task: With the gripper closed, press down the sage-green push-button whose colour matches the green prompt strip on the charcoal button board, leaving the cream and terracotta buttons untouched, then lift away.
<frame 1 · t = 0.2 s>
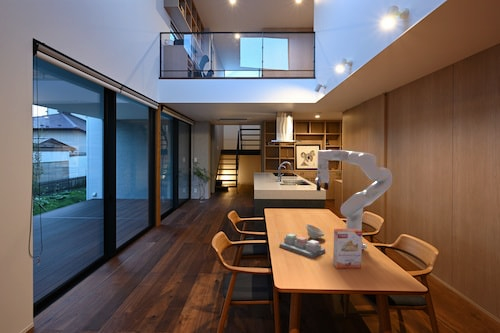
hand: (322, 190, 189), 37 cm above the table, tool pointing down, fingers open, 9 cm apart
green button: (291, 237, 176), point 6 cm above the table, slide at 0.0 cm
cracker box: (347, 266, 143), on the table
button board: (301, 249, 170), on the table
bowl: (314, 238, 191), on the table
terracotta button: (301, 240, 169), point 6 cm above the table, slide at 0.0 cm
cream button: (313, 243, 162), point 6 cm above the table, slide at 0.0 cm
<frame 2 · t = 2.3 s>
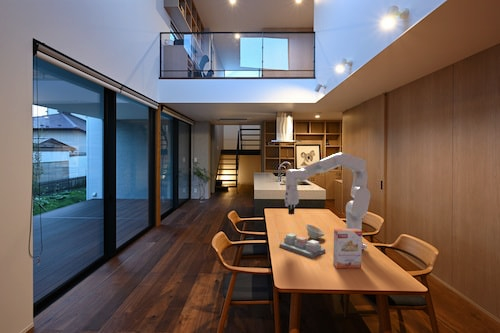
hand: (291, 213, 175), 22 cm above the table, tool pointing down, fingers closed
nothing on the table moved.
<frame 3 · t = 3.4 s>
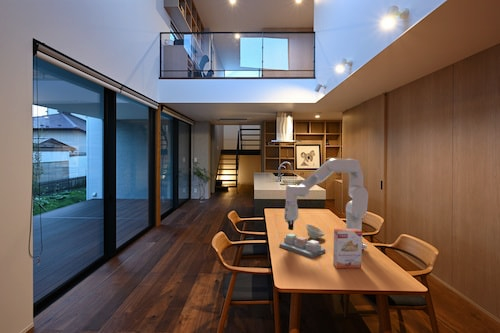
hand: (290, 229, 176), 11 cm above the table, tool pointing down, fingers closed
nothing on the table moved.
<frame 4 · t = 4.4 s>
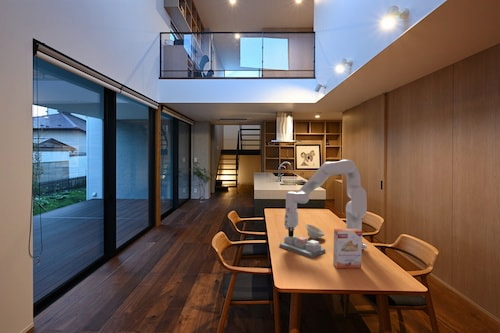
hand: (290, 236, 176), 7 cm above the table, tool pointing down, fingers closed
green button: (291, 238, 176), point 5 cm above the table, slide at 0.9 cm, touching gripper
everything else where it was.
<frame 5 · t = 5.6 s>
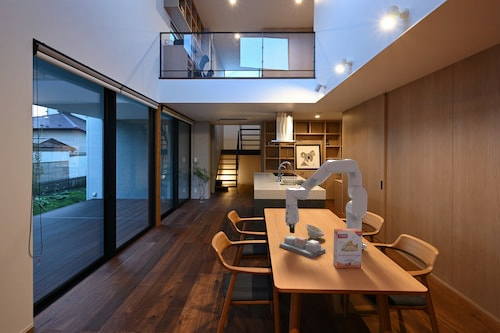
hand: (292, 232, 176), 9 cm above the table, tool pointing down, fingers closed
green button: (291, 239, 176), point 4 cm above the table, slide at 1.8 cm
everything else where it was.
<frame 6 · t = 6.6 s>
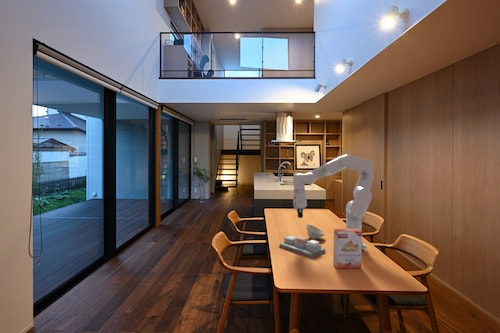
hand: (300, 217, 178), 19 cm above the table, tool pointing down, fingers closed
nothing on the table moved.
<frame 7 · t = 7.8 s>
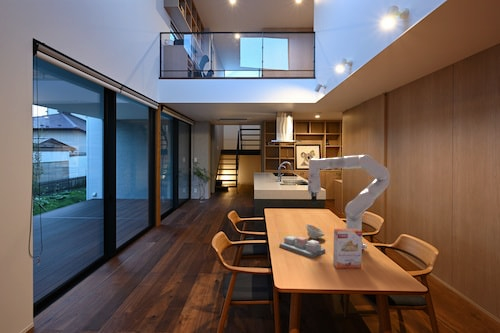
hand: (313, 201, 184), 29 cm above the table, tool pointing down, fingers closed
nothing on the table moved.
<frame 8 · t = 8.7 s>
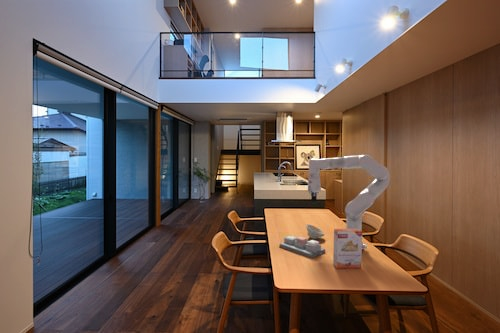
hand: (313, 201, 184), 29 cm above the table, tool pointing down, fingers closed
nothing on the table moved.
at the end: green button slide at 1.8 cm; terracotta button slide at 0.0 cm; cream button slide at 0.0 cm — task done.
